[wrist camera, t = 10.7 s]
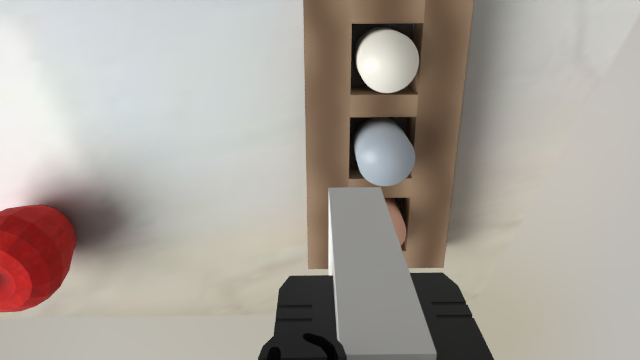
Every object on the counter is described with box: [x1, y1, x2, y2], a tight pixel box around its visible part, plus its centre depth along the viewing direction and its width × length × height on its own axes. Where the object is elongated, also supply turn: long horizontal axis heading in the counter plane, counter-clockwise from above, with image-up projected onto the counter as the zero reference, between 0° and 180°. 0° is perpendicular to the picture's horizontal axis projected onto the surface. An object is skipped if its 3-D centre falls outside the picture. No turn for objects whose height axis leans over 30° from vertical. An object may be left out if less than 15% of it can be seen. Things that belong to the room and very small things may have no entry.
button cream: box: [354, 27, 419, 93], centre depth 40 cm, size 5×5×5 cm
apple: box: [0, 205, 77, 312], centre depth 45 cm, size 10×10×11 cm
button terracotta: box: [384, 198, 406, 246], centre depth 46 cm, size 5×5×5 cm
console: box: [303, 0, 474, 269], centre depth 44 cm, size 14×26×4 cm, turn 0°
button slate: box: [353, 117, 415, 186], centre depth 42 cm, size 5×5×5 cm
